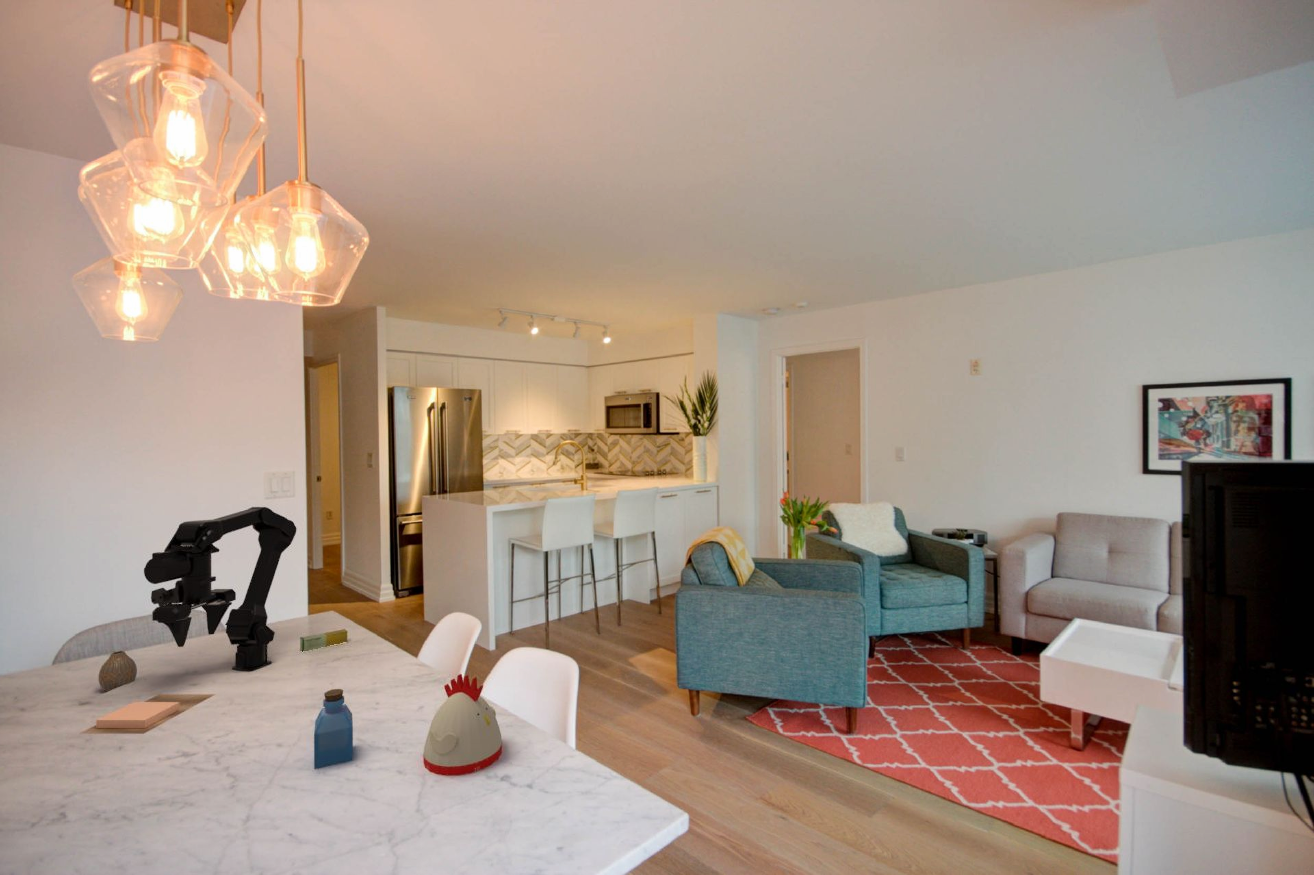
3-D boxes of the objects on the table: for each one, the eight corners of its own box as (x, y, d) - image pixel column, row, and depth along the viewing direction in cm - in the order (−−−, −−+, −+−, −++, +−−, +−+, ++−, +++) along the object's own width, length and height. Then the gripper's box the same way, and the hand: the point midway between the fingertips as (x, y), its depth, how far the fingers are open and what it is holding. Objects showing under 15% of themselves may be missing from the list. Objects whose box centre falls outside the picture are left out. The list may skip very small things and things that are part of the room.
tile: (133, 702, 131) (96, 720, 122) (179, 702, 131) (145, 720, 122) (133, 710, 131) (96, 728, 122) (179, 710, 131) (145, 728, 122)
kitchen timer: (470, 782, 105) (470, 694, 105) (406, 768, 109) (406, 684, 109) (516, 744, 118) (515, 666, 118) (457, 733, 122) (456, 658, 123)
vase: (144, 683, 149) (144, 647, 150) (116, 695, 143) (116, 657, 143) (119, 682, 150) (118, 647, 150) (90, 694, 143) (90, 657, 143)
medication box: (301, 653, 171) (301, 639, 171) (299, 651, 173) (299, 637, 173) (347, 644, 179) (348, 630, 179) (345, 641, 181) (345, 628, 181)
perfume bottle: (314, 769, 109) (314, 702, 109) (315, 753, 115) (315, 689, 115) (352, 760, 112) (352, 695, 112) (352, 746, 117) (352, 683, 118)
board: (159, 700, 139) (159, 694, 139) (215, 701, 139) (215, 694, 139) (79, 740, 120) (79, 733, 120) (143, 741, 120) (143, 733, 120)
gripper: (194, 566, 154) (194, 628, 154) (128, 583, 136) (128, 654, 136) (237, 566, 154) (237, 628, 154) (177, 583, 135) (177, 653, 135)
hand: (196, 640), depth 145 cm, fingers open, 9 cm apart
